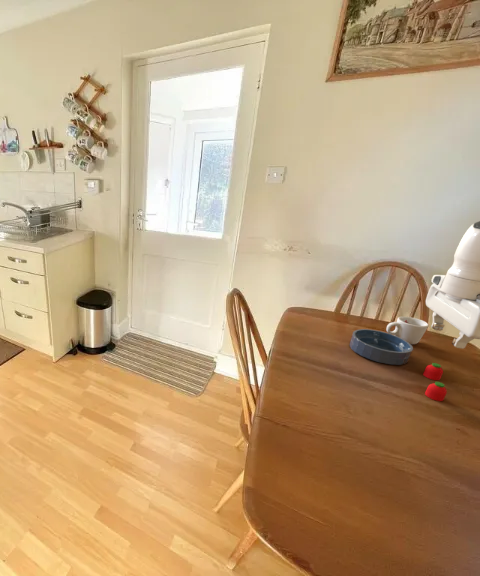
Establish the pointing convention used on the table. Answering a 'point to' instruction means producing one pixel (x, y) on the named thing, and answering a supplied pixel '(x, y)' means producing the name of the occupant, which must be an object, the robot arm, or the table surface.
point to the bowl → (381, 346)
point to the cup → (408, 329)
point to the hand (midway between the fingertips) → (446, 337)
